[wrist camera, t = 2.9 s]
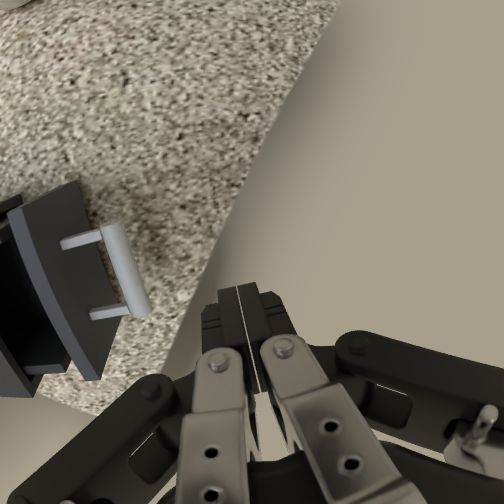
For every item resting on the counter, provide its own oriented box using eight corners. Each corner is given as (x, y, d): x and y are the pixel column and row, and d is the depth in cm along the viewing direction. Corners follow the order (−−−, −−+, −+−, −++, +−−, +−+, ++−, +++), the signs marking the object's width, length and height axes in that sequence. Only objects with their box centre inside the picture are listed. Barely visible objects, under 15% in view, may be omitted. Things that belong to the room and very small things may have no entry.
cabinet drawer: (130, 163, 19) (90, 181, 12) (171, 305, 24) (162, 373, 17) (-28, 223, 18) (-81, 257, 11) (19, 331, 23) (-15, 383, 15)
